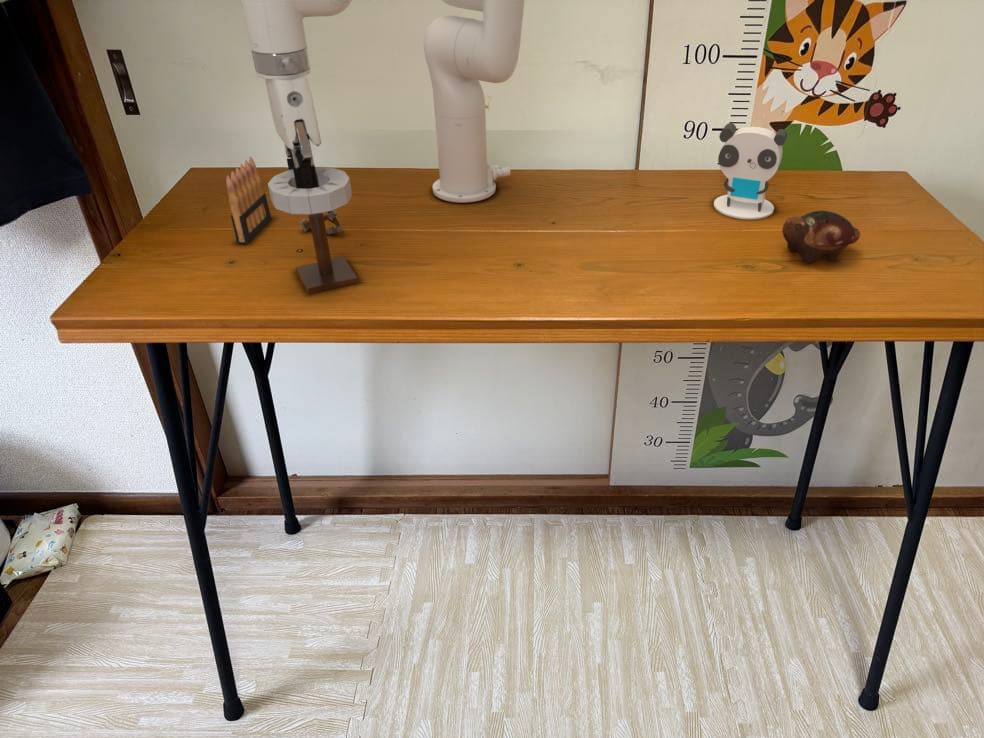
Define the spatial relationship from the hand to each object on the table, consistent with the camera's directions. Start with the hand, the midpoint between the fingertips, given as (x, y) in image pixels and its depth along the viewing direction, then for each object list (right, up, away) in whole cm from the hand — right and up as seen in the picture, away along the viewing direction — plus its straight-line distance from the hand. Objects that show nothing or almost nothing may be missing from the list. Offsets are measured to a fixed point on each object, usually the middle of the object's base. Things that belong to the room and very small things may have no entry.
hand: (304, 186), depth 120 cm
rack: (+2, -13, +5) cm, 15 cm away
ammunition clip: (-15, -3, +19) cm, 24 cm away
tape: (+2, -3, -3) cm, 4 cm away
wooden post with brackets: (-2, -3, +19) cm, 19 cm away
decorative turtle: (+84, -9, +13) cm, 86 cm away
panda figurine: (+76, +4, +29) cm, 81 cm away
